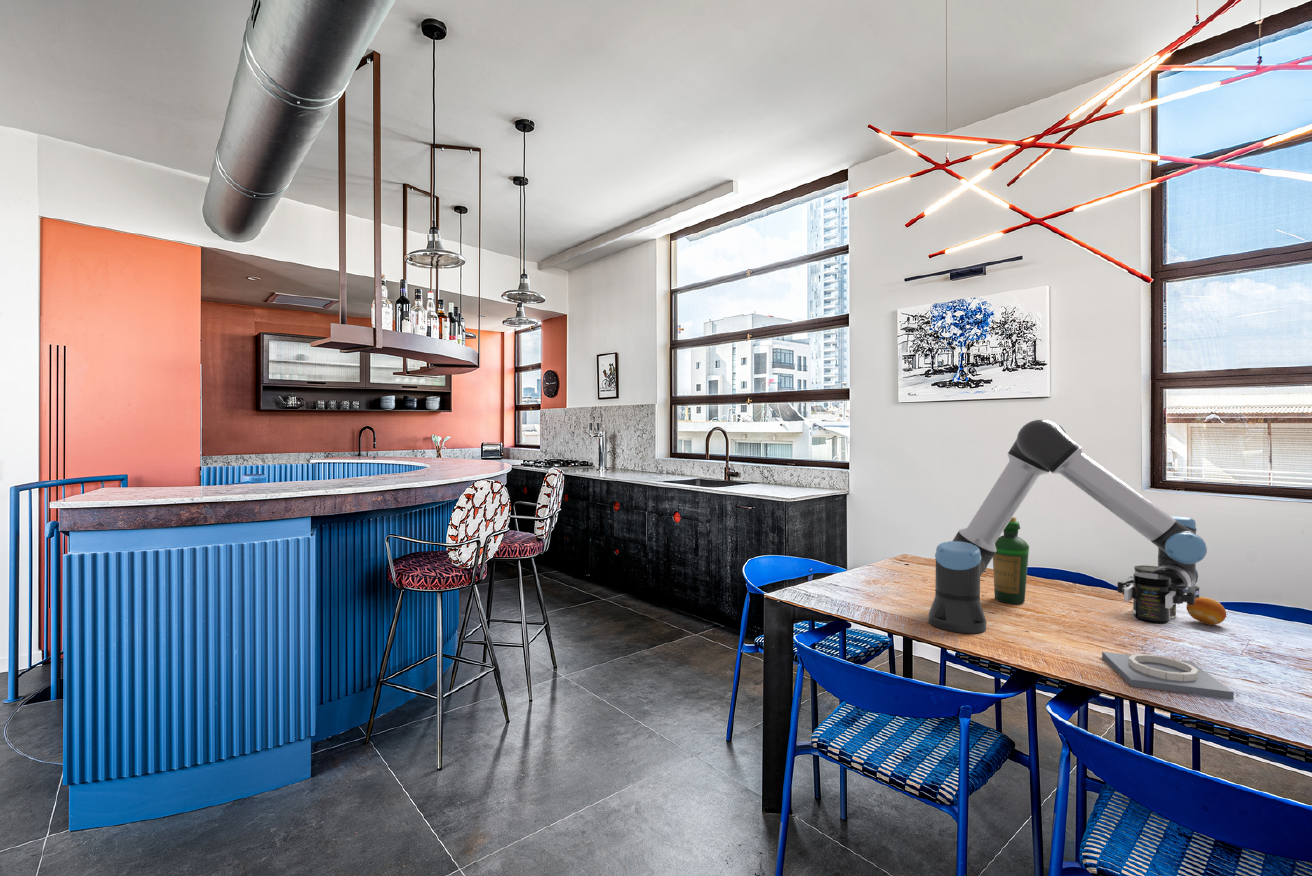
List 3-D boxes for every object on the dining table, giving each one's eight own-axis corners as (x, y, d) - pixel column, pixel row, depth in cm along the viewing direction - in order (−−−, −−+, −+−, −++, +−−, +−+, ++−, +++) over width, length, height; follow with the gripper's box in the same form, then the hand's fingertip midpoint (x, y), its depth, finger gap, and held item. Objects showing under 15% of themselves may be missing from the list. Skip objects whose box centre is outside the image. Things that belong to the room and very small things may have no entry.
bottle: (984, 597, 206) (985, 515, 205) (1013, 596, 207) (1015, 515, 206) (1004, 606, 195) (1006, 519, 195) (1036, 605, 196) (1037, 519, 196)
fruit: (1215, 621, 181) (1216, 595, 181) (1232, 630, 173) (1232, 602, 173) (1181, 618, 184) (1181, 592, 184) (1195, 626, 176) (1196, 599, 176)
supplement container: (1175, 626, 136) (1175, 580, 136) (1138, 623, 138) (1138, 577, 138) (1163, 618, 142) (1164, 574, 142) (1128, 615, 145) (1128, 571, 145)
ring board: (1131, 686, 134) (1131, 672, 134) (1102, 657, 151) (1102, 645, 151) (1233, 699, 128) (1233, 685, 128) (1191, 667, 145) (1191, 655, 145)
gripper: (1221, 606, 144) (1204, 625, 129) (1120, 589, 159) (1094, 605, 144) (1221, 574, 144) (1204, 590, 129) (1120, 561, 159) (1094, 574, 144)
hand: (1146, 598), depth 137 cm, fingers closed on supplement container, 7 cm apart
